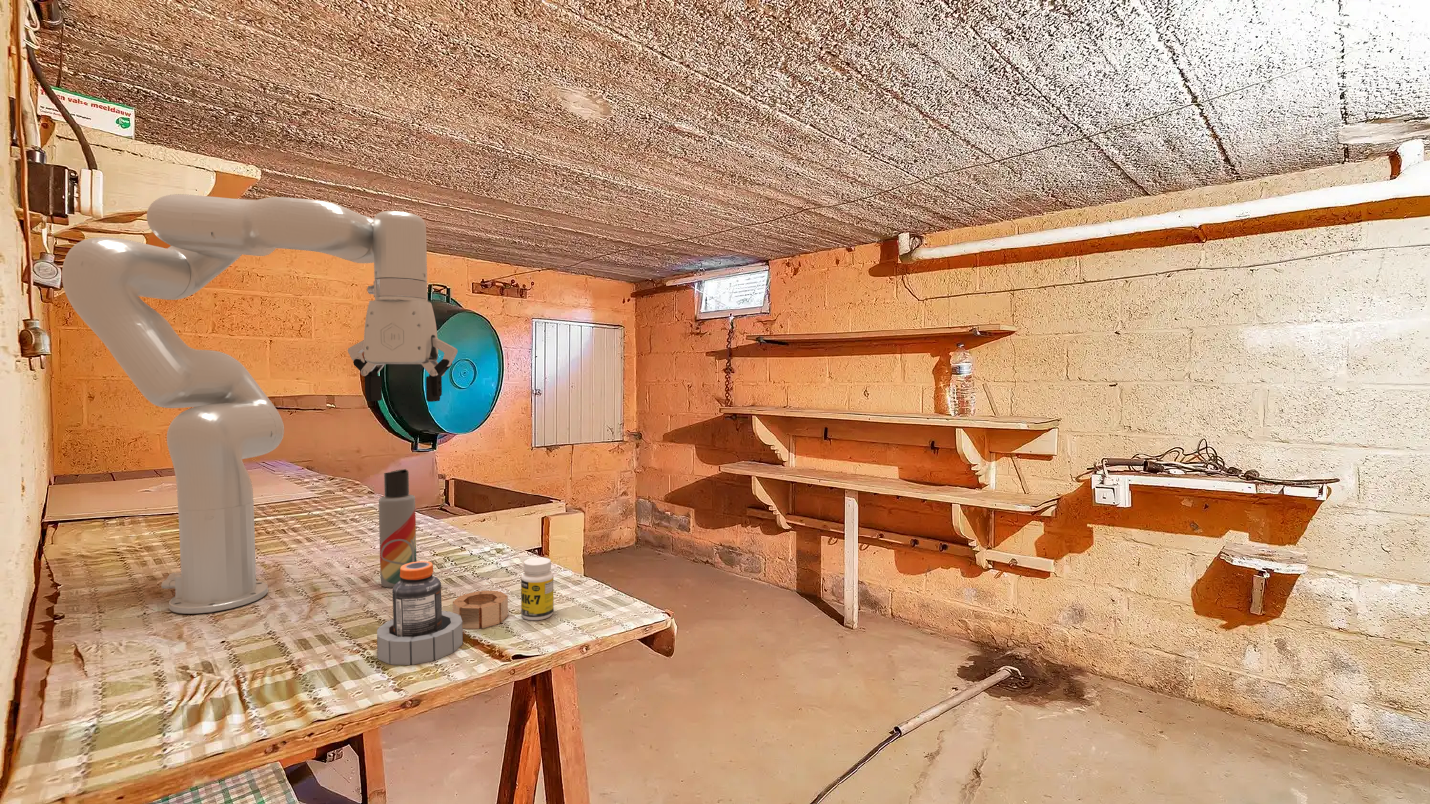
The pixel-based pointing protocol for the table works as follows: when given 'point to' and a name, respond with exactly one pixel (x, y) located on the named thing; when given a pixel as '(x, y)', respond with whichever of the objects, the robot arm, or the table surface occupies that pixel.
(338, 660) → the table surface
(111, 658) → the table surface
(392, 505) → the lotion bottle
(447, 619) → the grey segmented ring
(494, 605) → the wooden ring
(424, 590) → the pill bottle
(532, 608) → the supplement bottle
